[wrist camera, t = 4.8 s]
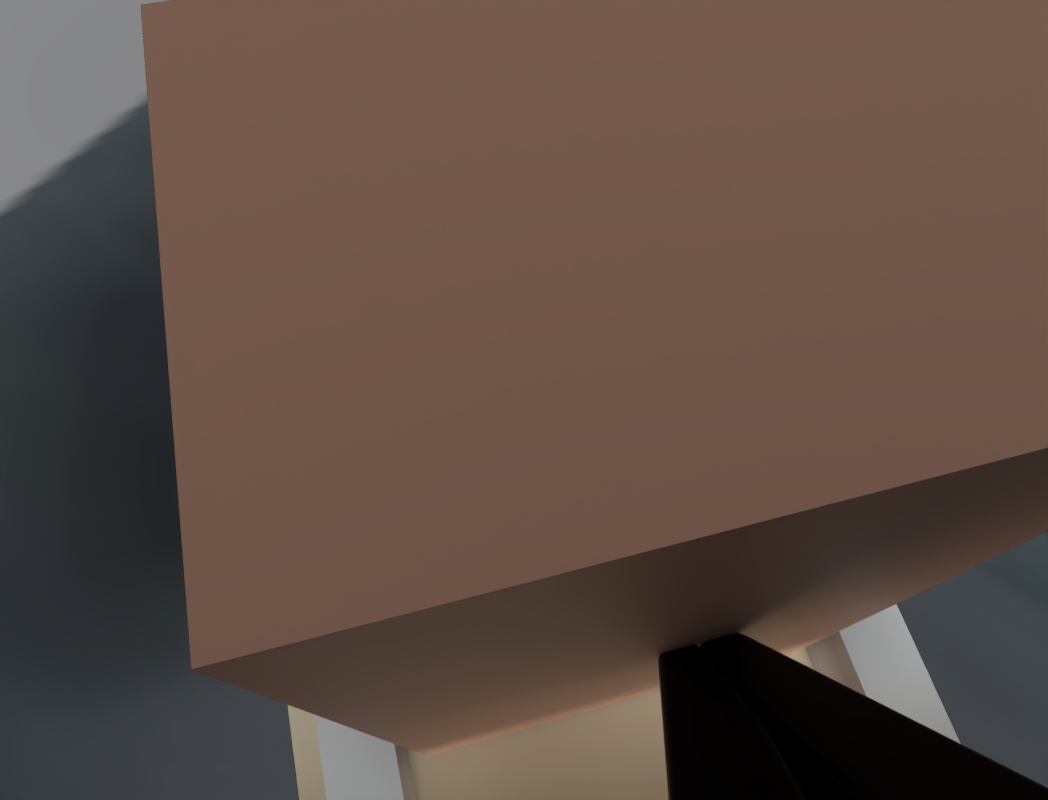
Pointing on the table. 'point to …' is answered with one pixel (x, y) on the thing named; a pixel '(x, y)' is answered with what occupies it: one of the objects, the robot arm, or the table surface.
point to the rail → (591, 737)
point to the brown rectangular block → (588, 334)
